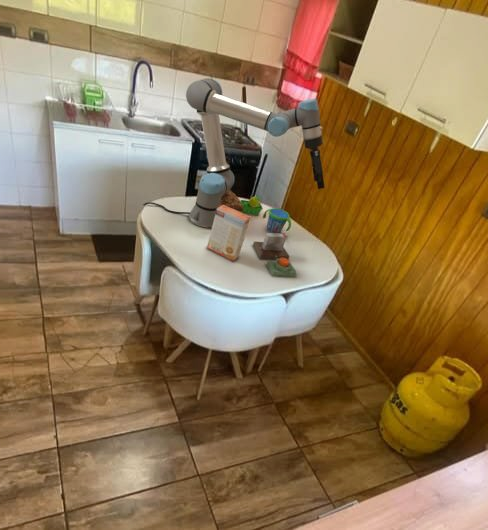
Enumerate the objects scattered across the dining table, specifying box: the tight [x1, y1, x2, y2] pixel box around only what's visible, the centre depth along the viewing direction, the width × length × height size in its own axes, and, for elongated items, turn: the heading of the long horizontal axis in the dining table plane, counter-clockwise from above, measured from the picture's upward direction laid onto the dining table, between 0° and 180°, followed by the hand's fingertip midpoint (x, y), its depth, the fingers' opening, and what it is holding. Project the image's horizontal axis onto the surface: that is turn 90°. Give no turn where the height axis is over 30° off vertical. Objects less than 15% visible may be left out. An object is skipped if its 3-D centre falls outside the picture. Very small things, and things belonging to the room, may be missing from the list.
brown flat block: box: [252, 240, 290, 261], centre depth 177 cm, size 14×13×3 cm
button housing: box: [265, 259, 298, 278], centre depth 166 cm, size 11×8×4 cm
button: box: [278, 258, 291, 267], centre depth 165 cm, size 4×4×2 cm
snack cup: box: [262, 207, 292, 234], centre depth 194 cm, size 16×10×10 cm
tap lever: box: [262, 232, 288, 251], centre depth 174 cm, size 9×3×8 cm, turn 100°
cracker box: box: [206, 205, 252, 262], centre depth 165 cm, size 14×6×21 cm, turn 56°
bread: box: [219, 189, 243, 213], centre depth 203 cm, size 19×11×10 cm, turn 19°
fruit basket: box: [240, 195, 264, 216], centre depth 205 cm, size 11×9×11 cm
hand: (319, 184), depth 172 cm, fingers open, 13 cm apart
